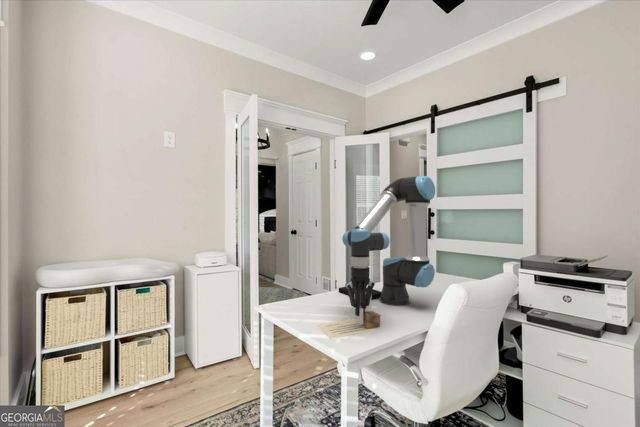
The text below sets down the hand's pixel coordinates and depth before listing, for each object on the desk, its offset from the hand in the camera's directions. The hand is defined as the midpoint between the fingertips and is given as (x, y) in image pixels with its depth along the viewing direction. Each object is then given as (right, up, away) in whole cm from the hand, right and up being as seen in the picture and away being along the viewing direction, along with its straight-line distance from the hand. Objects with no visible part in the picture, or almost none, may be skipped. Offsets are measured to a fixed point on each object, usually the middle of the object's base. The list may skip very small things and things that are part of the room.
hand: (360, 323), depth 129 cm
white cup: (+3, -2, +14) cm, 15 cm away
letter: (-6, -2, 0) cm, 6 cm away
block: (+4, -1, +1) cm, 5 cm away
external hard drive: (+7, -2, +49) cm, 49 cm away
